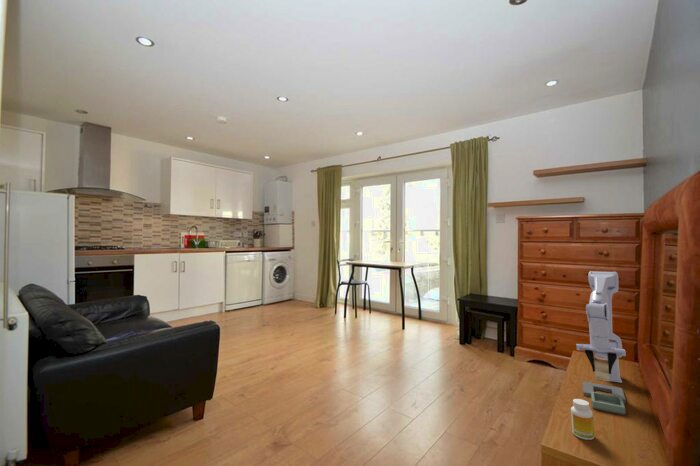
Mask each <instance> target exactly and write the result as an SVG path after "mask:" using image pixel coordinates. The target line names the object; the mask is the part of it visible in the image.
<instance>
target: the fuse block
mask: <svg viewBox="0 0 700 466" xmlns="http://www.w3.org/2000/svg"><path fill="white" fill-rule="evenodd" d="M594 366H595V372H594V377H595V380H596V381H604V382H610V381H609V367H608V360H607V359H604V358H597V357H596V356H594Z"/></svg>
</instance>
